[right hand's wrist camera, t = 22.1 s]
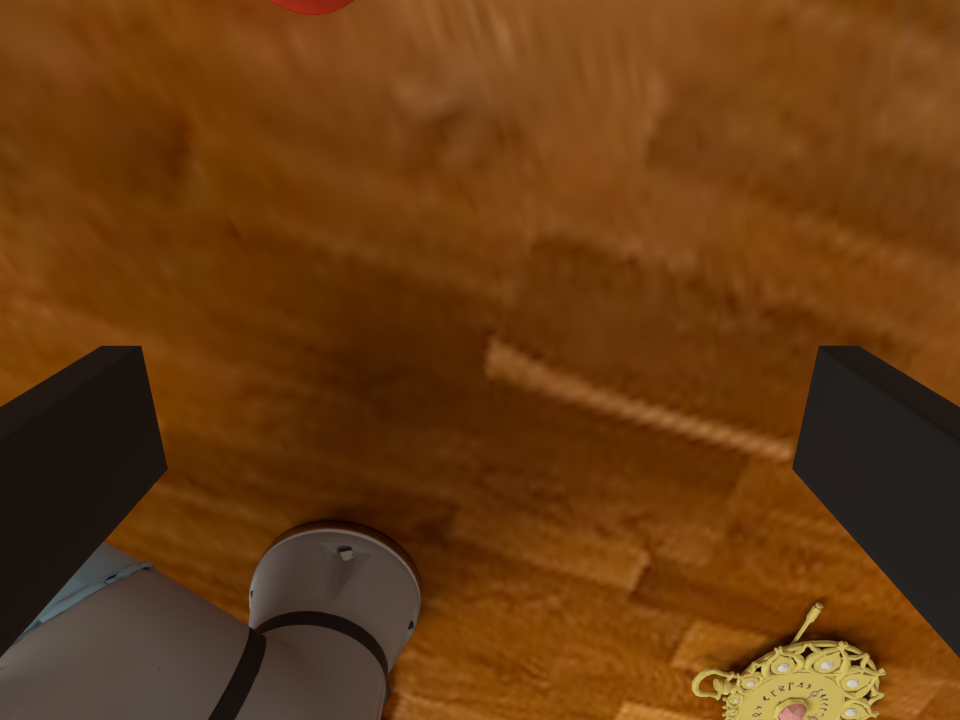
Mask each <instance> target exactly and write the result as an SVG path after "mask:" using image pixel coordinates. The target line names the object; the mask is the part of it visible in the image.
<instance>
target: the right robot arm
mask: <svg viewBox="0 0 960 720" xmlns="http://www.w3.org/2000/svg"><path fill="white" fill-rule="evenodd" d="M167 469H168V468H167V464H166V459H165V454H164V450H163V445H162V440H161V436H160V431H159V426H158V422H157V417H156V413H155V408H154V403H153V399H152V394H151V389H150V385H149V380H148V376H147V371H146V366H145V362H144V357H143V352H142V348H141V346H101V347H99V348H97V349H96V350H94V351H92V352H91V353H89V354H87V355H86V356H84V357H82V358H81V359H79V360H77V361H76V362H74V363H73V364H71V365H69V366H68V367H66V368H64V369H63V370H61V371H59V372H58V373H56V374H54V375H53V376H51V377H49V378H48V379H46V380H45V381H43V382H41V383H40V384H38V385H36V386H35V387H33V388H31V389H30V390H28V391H26V392H25V393H23V394H21V395H20V396H18V397H17V398H15V399H13V400H12V401H10V402H8V403H7V404H5V405H3V406H2V407H0V720H381V714H382V708H383V705H384V704H385V702H386V700H387V698H388V694H389V688H388V685H387V679H388V674H389V672H390V670H391V669H392V667H393V665H394V664H395V662H396V660H397V659H398V657H399V655H400V654H401V652H402V650H403V648H404V646H405V644H406V643H407V641H408V640H409V638H410V637H411V635H412V633H413V631H414V629H415V626H416V623H417V620H418V618H419V613H420V607H421V600H422V586H421V581H420V577H419V574H418V572H417V569H416V567H415V566H414V564H413V562H412V561H411V559H410V558H409V557H408V555H407V554H406V553H405V552H404V551H403V550H402V549H401V548H400V547H399V546H398V545H397V544H395V543H394V542H393V541H392V540H390V539H389V538H387V537H385V536H384V535H382V534H380V533H378V532H376V531H374V530H371V529H369V528H366V527H363V526H360V525H356V524H351V523H345V522H317V523H311V524H307V525H303V526H300V527H297V528H295V529H292V530H290V531H288V532H286V533H285V534H283V535H281V536H280V537H279V538H277V539H276V540H275V541H274V542H273V543H272V544H271V545H270V546H269V547H268V548H267V549H266V551H265V552H264V554H263V556H262V558H261V560H260V562H259V564H258V566H257V568H256V570H255V572H254V575H253V578H252V582H251V586H250V592H249V606H250V618H249V624H248V625H246V624H245V623H243V622H241V621H240V620H238V619H236V618H235V617H233V616H232V615H230V614H228V613H227V612H225V611H223V610H222V609H220V608H219V607H217V606H215V605H214V604H212V603H210V602H209V601H207V600H205V599H204V598H202V597H201V596H199V595H197V594H196V593H194V592H192V591H191V590H189V589H188V588H186V587H184V586H183V585H181V584H179V583H178V582H176V581H175V580H173V579H171V578H170V577H168V576H166V575H165V574H163V573H162V572H160V571H158V570H157V569H155V565H154V564H152V563H150V562H146V561H144V562H141V561H139V560H137V559H135V558H134V557H132V556H130V555H128V554H126V553H124V552H122V551H120V550H119V549H117V548H115V547H113V546H111V545H109V544H107V543H104V540H105V539H106V538H107V537H108V536H109V535H110V534H111V532H112V531H113V530H114V529H115V528H116V527H117V526H118V525H119V523H120V522H121V521H122V520H123V519H124V518H125V517H126V516H127V514H128V513H129V512H130V511H131V510H132V509H133V508H134V506H135V505H136V504H137V503H138V502H139V501H140V500H141V499H142V497H143V496H144V495H145V494H146V493H147V492H148V491H149V490H150V488H151V487H152V486H153V485H154V484H155V483H156V482H157V481H158V479H159V478H160V477H161V476H162V475H163V474H164V473H165V471H166V470H167ZM792 469H793V470H794V471H795V473H796V474H797V475H798V476H799V477H800V478H801V479H802V481H803V482H804V483H805V484H806V485H807V486H808V487H809V488H810V490H811V491H812V492H813V493H814V494H815V495H816V496H817V497H818V499H819V500H820V501H821V502H822V503H823V504H824V505H825V506H826V508H827V509H828V510H829V511H830V512H831V513H832V514H833V516H834V517H835V518H836V519H837V520H838V521H839V522H840V523H841V525H842V526H843V527H844V528H845V529H846V530H847V531H848V532H849V534H850V535H851V536H852V537H853V538H854V539H855V540H856V542H857V543H858V544H859V545H860V546H861V547H862V548H863V549H864V551H865V552H866V553H867V554H868V555H869V556H870V557H871V558H872V560H873V561H874V562H875V563H876V564H877V565H878V566H879V567H880V569H881V570H882V571H883V572H884V573H885V574H886V575H887V577H888V578H889V579H890V580H891V581H892V582H893V583H894V584H895V586H896V587H897V588H898V589H899V590H900V591H901V592H902V593H903V595H904V596H905V597H906V598H907V599H908V600H909V601H910V603H911V604H912V605H913V606H914V607H915V608H916V609H917V610H918V612H919V613H920V614H921V615H922V616H923V617H924V618H925V619H926V621H927V622H928V623H929V624H930V625H931V626H932V627H933V628H934V630H935V631H936V632H937V633H938V634H939V635H940V636H941V638H942V639H943V640H944V641H945V642H946V643H947V644H948V645H949V647H950V648H951V649H952V650H953V651H954V652H955V653H956V654H957V656H958V657H959V658H960V407H958V406H957V405H955V404H953V403H952V402H950V401H948V400H947V399H945V398H943V397H942V396H940V395H939V394H937V393H935V392H934V391H932V390H930V389H929V388H927V387H925V386H924V385H922V384H920V383H919V382H917V381H915V380H914V379H912V378H911V377H909V376H907V375H906V374H904V373H902V372H901V371H899V370H897V369H896V368H894V367H892V366H891V365H889V364H887V363H886V362H884V361H883V360H881V359H879V358H878V357H876V356H874V355H873V354H871V353H869V352H868V351H866V350H864V349H863V348H861V347H859V346H819V348H818V352H817V357H816V362H815V366H814V371H813V376H812V380H811V385H810V389H809V394H808V399H807V403H806V408H805V413H804V417H803V422H802V426H801V431H800V436H799V440H798V445H797V450H796V454H795V459H794V464H793V468H792Z"/></svg>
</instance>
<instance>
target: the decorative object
mask: <svg viewBox="0 0 960 720" xmlns="http://www.w3.org/2000/svg"><path fill="white" fill-rule="evenodd" d="M821 608H823V605H822V604H820V603H818V602H816V605H814V606H813V607H812V609H811V610H810V611H809V613H808V614H807V617H806V622H805V623H804V625H803V626H802V628H801V629H800V631H799V632H798V634H797V635H796V637H795V638H794V639H793V641H792V642H791V644H790V645H788V646H784V647H782V646H779V648H774V651H772V652H770V653H767V654H766V655H764V656H763V657H761V658H759V659H758V660H756V661H755V662H753V663H752V664H751V665H750V666H749V667H748V668H746V669H745V670H744V671H743V673H742V674H741V675H739V673H736V674H737V675H735V673H734V672H733V671H731V672H730V673H729V672H722V671H721V670H719V669H717V668H708V669H706V670H704V671H702V672H700V673H699V674H698V675H696V676H695V678H694V679H693V681H692V690H693V692H694V693H695V695H697V696H700V697H707V696H711V697H714V698H716V699H717V700H719V699H720V698H721V694H724V695H728V694H729V692H730V694H729V696H728V697H723V698H724V699H722V700H723V701H726V703H727V704H726V705H723V706H722V707H723V709H727V711H726V712H725V713H723V714H722V715H723V716H727V717H726V719H725V720H729V719H730V720H865V719H867V718H869V717H871V716H872V717H875V718H876V717H877V715H879V712H878V711H872V710H871V705H872V704H873V702H875V701H876V700H878V699H880V698H883V695H885V694H884V693H883V692H880V691H878V689H879V676H882V675H886V671H884V668H881V669H879V670H877V669H876V667H875V665H874V663H873V661H872V660H871V659H870V658H869V657H870V655H869V654H868V653H867V652H866V653H864V652H863V651H861V650H859V649H858V648H856V647H854V646H851V645H849V644H848V643H847V642H844V643H843V641H840V642H836V641H829V640H822V641H803V642H799V643H796V642H797V641H798V639H799V638H800V636H801V635H802V634H803V632H804V631H805V629H806V628H807V626H808V625H809V623H811V622H814V620H815V619H816V617H817V616H818V614H819V613H820V611H821ZM806 647H810V649H811V650H812V651H814V652H813V653H810V654H809V655H808V656H806V657H805V658H804V657H803V656H802V655H800V654H801V653H803V652H804V650H805V649H806ZM817 647H830V648H825V649H822V650H821V649H820V648H817ZM844 649H845V650H848V651H851V652H854V653H855V654H857V655H848V654H847V653H846V652H845V650H844ZM795 650H796V651H795ZM839 650H840V651H839ZM792 651H795V652H792ZM840 652H841V654H842V656H843V657H840ZM791 657H793V658H794V660H795V661H796V662H797V663H796V664H795V663H794V660H793V659H792V658H791ZM861 658H863V659H862V660H861V662H860V666H859V665H851V660H858V659H861ZM841 659H843V660H842V661H841ZM866 663H867V664H868V666H869V668H870V669H869V668H867V667H865V666H866ZM761 666H762V668H761V672H760V671H755V670H756V669H757V668H758V667H761ZM711 674H717V675H720V676H724V677H727V678H726V679H725V678H718V679H714V681H713V686H714V688H715V690H717V691H718V692H717V693H715V692H711V691H701V690H699V683H700V681H701V680H702V679H704V678H705V677H706V676H708V675H711ZM732 678H737V680H736V682H734V681H730V680H731V679H732ZM869 681H870V682H869ZM741 685H742V687H743V688H742V687H741ZM870 690H871V693H870V695H869V697H868V699H867V700H866V699H865V698H863V696H865V695H866V694H867V693H868V692H869V691H870ZM877 694H878V696H877ZM845 697H847V698H846V699H845ZM862 705H863V706H862ZM868 712H869V713H868ZM840 716H841V717H842V718H844V719H842V718H841V717H840Z"/></svg>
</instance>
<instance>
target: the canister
mask: <svg viewBox="0 0 960 720" xmlns="http://www.w3.org/2000/svg"><path fill="white" fill-rule="evenodd" d="M268 1H270V2H273V3H275V4H277V5H279V6H281V7H283V8H285V9H287V10H290V11H293V12H296V13H300V14H307V15H320V14H327V13H330V12H333V11H336V10H338V9H340V8H342V7H344V6H346V5H347V4H349V3H350V2H352V1H353V0H268Z"/></svg>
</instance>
